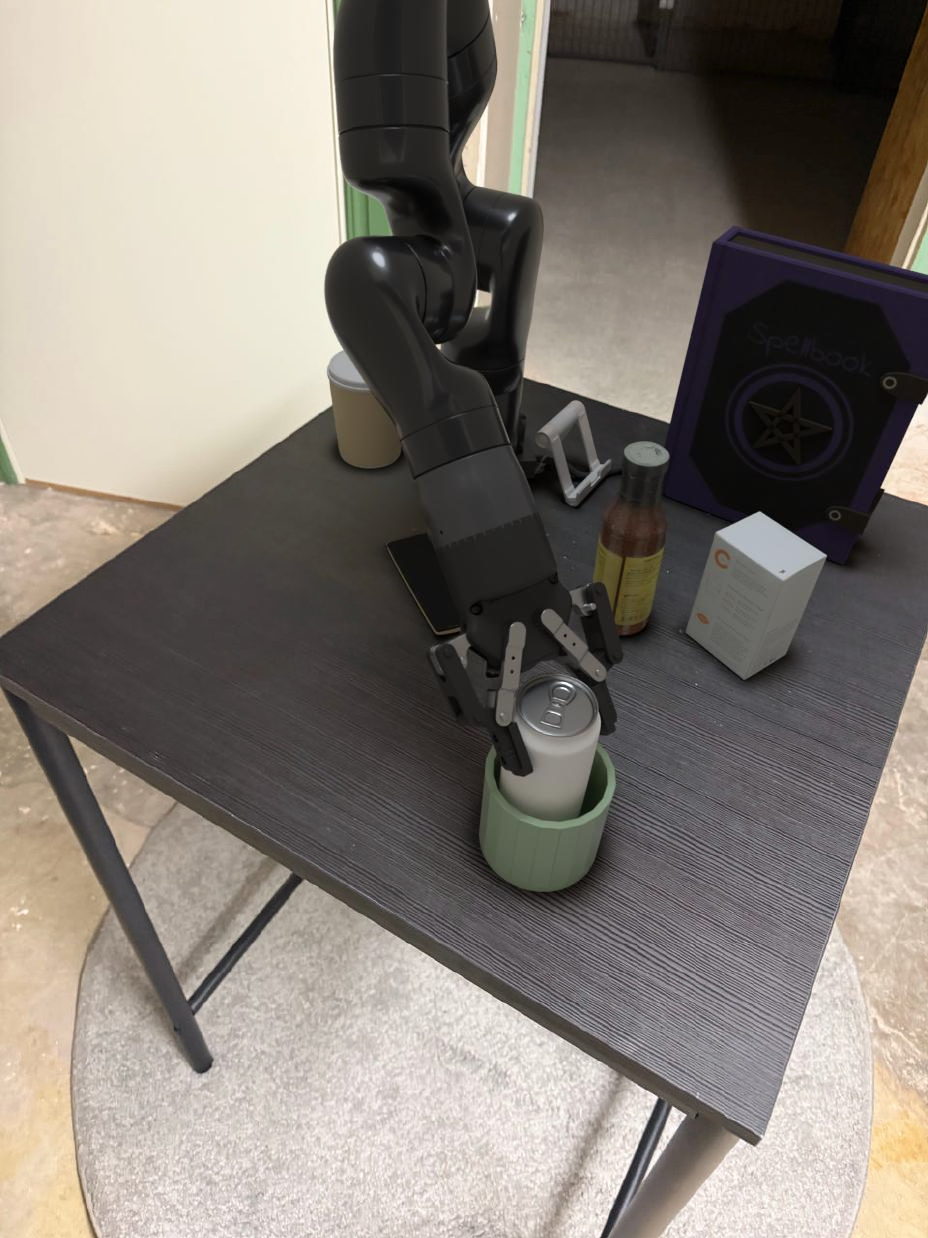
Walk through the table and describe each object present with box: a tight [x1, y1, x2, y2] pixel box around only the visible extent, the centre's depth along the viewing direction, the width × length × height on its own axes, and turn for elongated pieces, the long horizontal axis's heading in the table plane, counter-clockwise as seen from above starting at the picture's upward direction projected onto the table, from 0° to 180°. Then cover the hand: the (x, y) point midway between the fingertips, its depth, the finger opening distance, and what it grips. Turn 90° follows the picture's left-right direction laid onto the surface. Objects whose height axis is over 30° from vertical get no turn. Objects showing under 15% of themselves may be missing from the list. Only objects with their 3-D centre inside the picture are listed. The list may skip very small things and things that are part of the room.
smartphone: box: [386, 532, 461, 636], centre depth 91 cm, size 7×1×15 cm
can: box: [499, 672, 601, 822], centre depth 63 cm, size 6×6×12 cm
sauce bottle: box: [592, 440, 670, 637], centre depth 82 cm, size 7×6×20 cm
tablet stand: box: [533, 399, 613, 508], centre depth 103 cm, size 9×8×8 cm
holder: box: [478, 742, 617, 893], centre depth 67 cm, size 10×10×9 cm
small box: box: [685, 512, 827, 681], centre depth 83 cm, size 8×6×13 cm
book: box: [662, 225, 928, 566], centre depth 92 cm, size 24×6×30 cm, turn 56°
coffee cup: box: [326, 349, 402, 469], centre depth 105 cm, size 9×9×12 cm
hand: (565, 752), depth 60 cm, fingers closed on can, 6 cm apart
